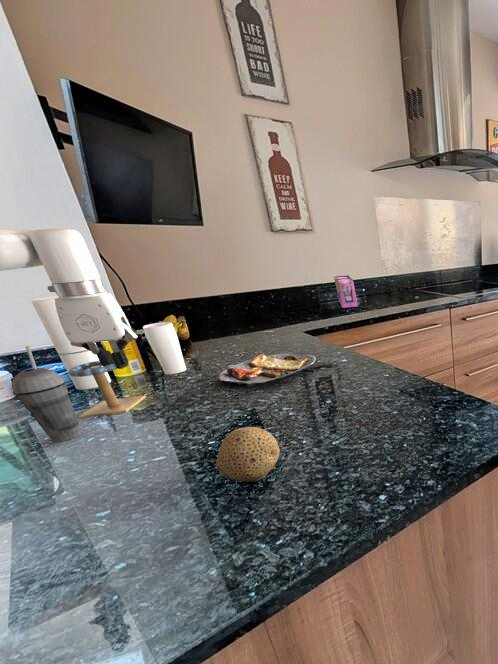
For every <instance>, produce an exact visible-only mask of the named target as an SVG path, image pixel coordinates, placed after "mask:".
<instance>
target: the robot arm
mask: <svg viewBox="0 0 498 664" xmlns="http://www.w3.org/2000/svg"><path fill="white" fill-rule="evenodd" d="M41 266H42V267H43V268H44V270H45V272H46V274H47V276H48V278H49V280H50V282H51V284H50V285H47V290H48V291H49V293H55V295H56V296H59V298H56V299H55V306H56V310H57V314H58V317H59V320H60V323H61V326H62V328H63V330H64V333H65V335H66V337H67V339H68V340H69V341H70V344H71V345H72V346H76V347H83V348H85V349H87V350H89V351H91V352H92V353H93V354H95V355H97V357H98V359H99V361H100V363H101V365H102V366H107V365H110V364H113V363H115V364H116V366H117V368H118V369H117V370H123V369H124V368H126V367H128V366H129V359H128V357H127V355H126V352H125V349H126V346H128V344H129V343H131V342H133V341H135V340H137V339H138V335H136V333H135V332H134V331H133V330H132V326H131V325H130V322H129V320H128V317H127V316H126V314H125V312H124V311H123V309H122V307H121V305H120V304H119V302H118V301H117V300H116V299H115V297H114V296H113V294H112V293H111V292H107V290H106V287H105V285H104V283H103V280H102V278H101V276H100V273H99V271H98V269H97V267H96V264H95V261H94V260H93V257H92V255H91V252H90V251H89V247H88V246H87V244H86V241H85V239H84V237H83V235H82V234H81V233H80V232H79V231H78V230H76V229H73V228H44V229H43V228H42V229H34V230H32V229H20V228H16V229H15V228H14V229H13V228H11V229H10V228H9V229H7V228H3V229H0V272H2V271H3V272H4V271H10V270H17V269H28V268H36V267H41ZM123 337H124V338H123ZM104 342H108V344H109V346H110V349H111V351H112V352H111V351H110V350H107V349H106V346H105V344H104Z"/></svg>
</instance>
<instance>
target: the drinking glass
mask: <svg viewBox="0 0 498 664" xmlns="http://www.w3.org/2000/svg"><path fill="white" fill-rule="evenodd" d="M142 330H143V332H144V335H145V338H146V340H147V343H148V344H149V346H150V348H151V350H152V352H153V353H154V355H155V357H156V359H157V361H158V363H159V365H160V367H161V369H162V371H163V373H164V374H165V375H174V374H179V373H183V372H185V371H187V366H186V363H185V360H184V359H185V358H184V356H183V352H182V349H181V344H180V341H179V337H178V334H177V332H176V329H175V327H174V324H173V322H171V321H164V322H155V323H150V324H146V325H143V326H142Z"/></svg>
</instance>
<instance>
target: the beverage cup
mask: <svg viewBox="0 0 498 664" xmlns="http://www.w3.org/2000/svg"><path fill="white" fill-rule="evenodd" d="M25 349H26V352H27V355H28V358H29V361H30V365H31V367H32V368H31V367H30V368H27V369H24V370H22V371H20V372H18V373H17V374H15V376H14V377H13V379H12V380H11V389H12V394H13V396H16V398H17V399H18V400H19V402H21V404H23V405H24V406H25V408H26V410H28V411H29V413H30V414H31V416H32V417H33V418H34V419H35V421H36V422H37V423H38V425H39V426H40V427H41V430H43V431H44V433H45V434H46V435H47V436H48V437H49V439H50V440H51V441H52V442H53V443H60V442H65V441H70V440H73V439H75V438H77V437H79V436H81V435H82V434H83V431H82V428H81V424H80V421H79V418H78V417H77V414H76V411H75V409H74V405H73V404H72V401H71V399H70V396H69V393H68V392H69V391H68V385H66V384H67V382H66V380H64V379H63V378H62V376H61V375H60V374H59V373H58V372H56V371H54V370H51V369H48V368H44V367H37V364H36V360H35V358H34V356H33V353H32V349H31V347H30V345H27V346H25Z"/></svg>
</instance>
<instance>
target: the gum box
mask: <svg viewBox="0 0 498 664" xmlns="http://www.w3.org/2000/svg"><path fill="white" fill-rule="evenodd" d="M333 279H334V284H335V288H336V293H337V298H338V302H339V304H340V306H341V308H342V309H347V308H355V307H356V308H357V307H358V306H359V305H358V300H357V294H356V290H355V289H356V288H355V284H354V280H353V278H351V276H350V275H347V274H346V275H336V276H334V277H333Z"/></svg>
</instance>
